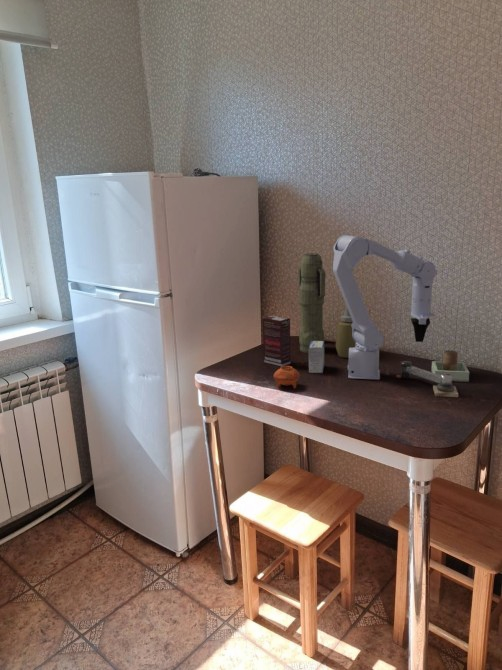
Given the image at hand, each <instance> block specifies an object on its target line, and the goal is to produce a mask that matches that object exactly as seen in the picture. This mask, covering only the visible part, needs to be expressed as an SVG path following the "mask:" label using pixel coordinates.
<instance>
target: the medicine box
mask: <svg viewBox="0 0 502 670" xmlns="http://www.w3.org/2000/svg"><path fill="white" fill-rule="evenodd" d="M324 368H325V340H324V341H311V344H310V347H309V353H308V372H309V373H311V374H323V373H324Z"/></svg>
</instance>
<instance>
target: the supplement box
mask: <svg viewBox="0 0 502 670" xmlns="http://www.w3.org/2000/svg"><path fill="white" fill-rule="evenodd" d="M262 338H263V339H262V340H263V345H262V346H263V362H264V363H267V364H269V365H273V366H274V365H275V366H278V367H283V366H289V365H290V364H291V358H292V357H291V318H289V317H283V316H277V315H267V316H263V317H262Z"/></svg>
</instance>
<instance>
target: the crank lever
mask: <svg viewBox="0 0 502 670" xmlns="http://www.w3.org/2000/svg"><path fill="white" fill-rule="evenodd" d="M400 365H401V367H400V368H401V371H400V375H401V377H402V378H401V379H410V378H411V376H410V375H413V376H416V377H420V378H423V379H426V380H429V381H431V382H435V383H436V384H440V385H441V386H445V387H450V386H451V385H453V384H452V383H453V381H452V375H450V374H441V375H438V374H435V373H432V371H429V370H425V369H422V368H419V367H417V366H413V365H412V361H409V360H403V361H400Z"/></svg>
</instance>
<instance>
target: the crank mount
mask: <svg viewBox="0 0 502 670" xmlns="http://www.w3.org/2000/svg"><path fill="white" fill-rule="evenodd" d="M395 378H397V379H403V378H402V377H401V374H397V375H396V377H395ZM432 389H433V392H434V396H435V397H446V398H459V392H458V389H457V388H456V386H455V385H454V384H452V385H451V386H450V387H445V386H441V385H440V384H439V383H437V385H432Z"/></svg>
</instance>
